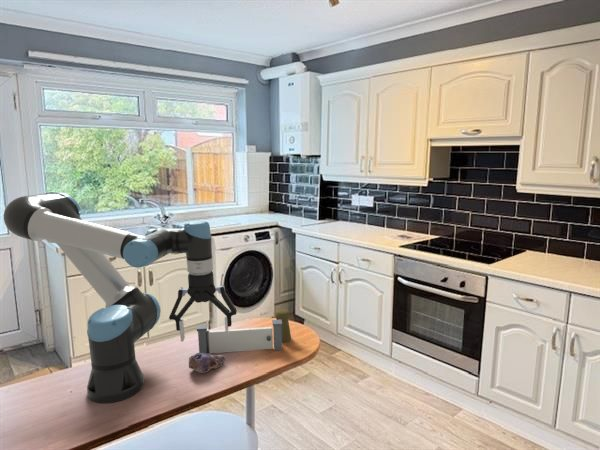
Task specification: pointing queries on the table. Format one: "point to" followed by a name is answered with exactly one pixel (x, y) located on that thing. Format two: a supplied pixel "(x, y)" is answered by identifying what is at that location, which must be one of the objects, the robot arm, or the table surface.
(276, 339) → the post
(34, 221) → the robot arm
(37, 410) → the table surface
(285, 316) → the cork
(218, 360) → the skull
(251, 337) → the gate
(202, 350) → the hinge post
